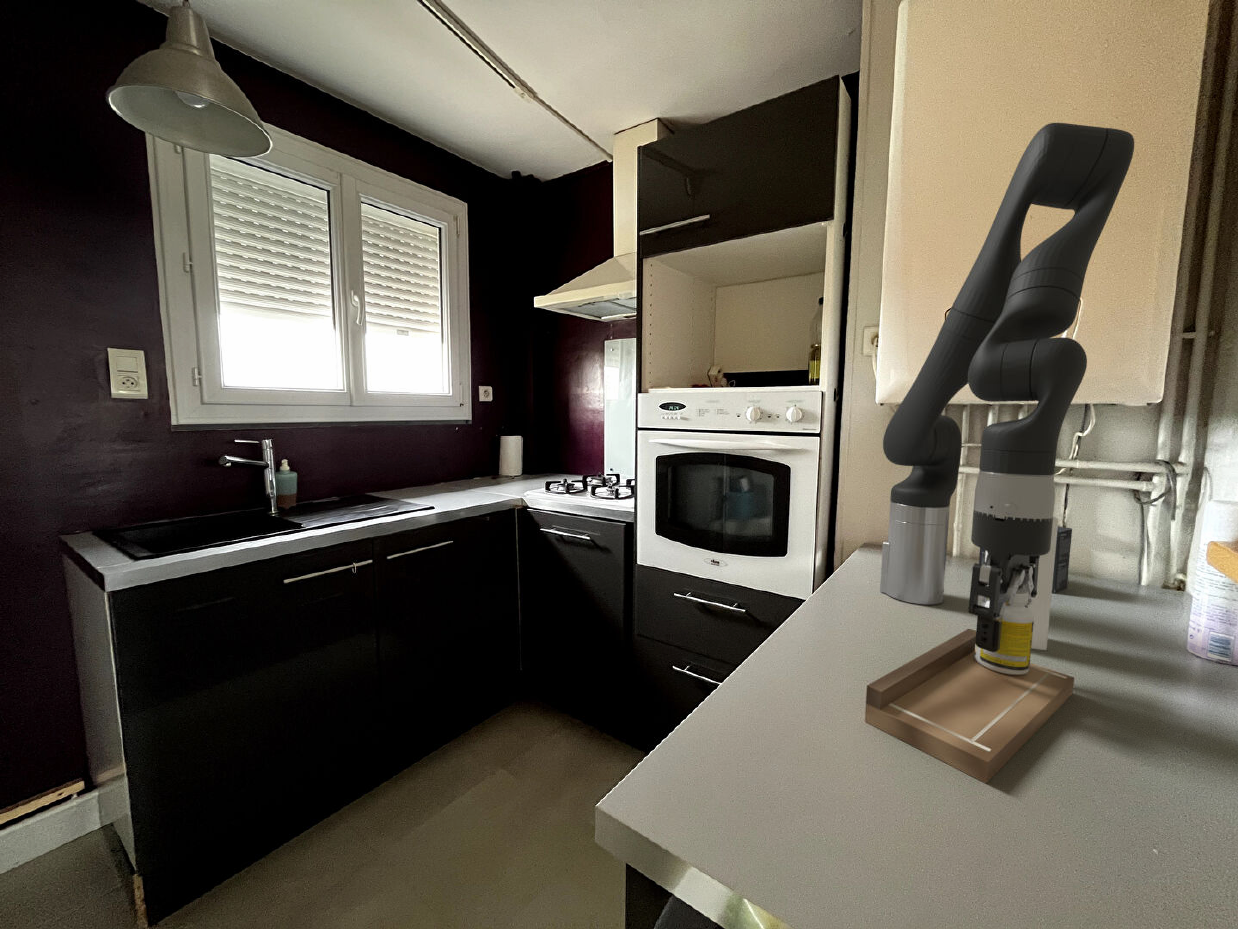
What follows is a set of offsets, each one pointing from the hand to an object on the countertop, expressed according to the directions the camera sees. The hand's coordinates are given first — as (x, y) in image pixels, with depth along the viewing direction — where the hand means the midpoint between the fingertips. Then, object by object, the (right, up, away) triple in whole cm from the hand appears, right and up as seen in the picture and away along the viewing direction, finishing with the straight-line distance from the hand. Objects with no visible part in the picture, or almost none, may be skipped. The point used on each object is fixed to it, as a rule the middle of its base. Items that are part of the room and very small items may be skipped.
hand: (1000, 640), depth 61 cm
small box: (+35, -2, +40) cm, 53 cm away
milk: (+11, -5, +13) cm, 17 cm away
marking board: (-7, -6, -5) cm, 10 cm away
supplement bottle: (0, -3, 0) cm, 3 cm away
